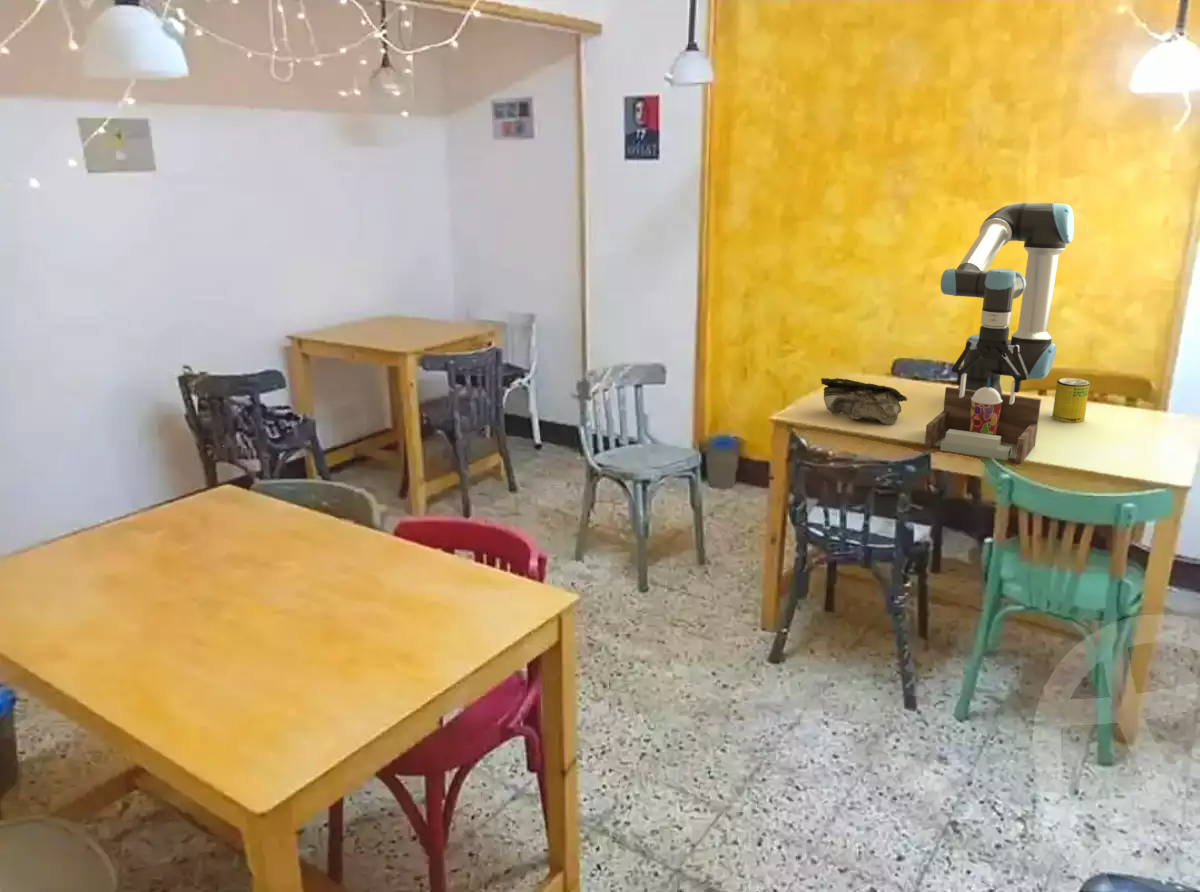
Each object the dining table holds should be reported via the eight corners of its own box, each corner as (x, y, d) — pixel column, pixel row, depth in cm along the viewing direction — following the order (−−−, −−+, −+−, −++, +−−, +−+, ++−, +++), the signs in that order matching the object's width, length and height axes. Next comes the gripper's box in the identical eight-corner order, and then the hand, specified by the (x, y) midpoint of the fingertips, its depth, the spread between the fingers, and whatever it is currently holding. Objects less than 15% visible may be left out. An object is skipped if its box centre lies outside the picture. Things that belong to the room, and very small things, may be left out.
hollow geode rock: (818, 423, 308) (802, 398, 298) (832, 392, 312) (817, 366, 302) (898, 437, 290) (885, 411, 280) (913, 403, 294) (900, 376, 284)
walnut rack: (942, 431, 282) (947, 386, 278) (1035, 445, 268) (1041, 398, 263) (924, 447, 268) (928, 401, 264) (1020, 463, 254) (1027, 414, 250)
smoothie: (992, 440, 273) (999, 374, 267) (1000, 449, 265) (1009, 381, 259) (962, 440, 274) (969, 374, 268) (970, 449, 266) (977, 381, 260)
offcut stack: (944, 446, 270) (946, 428, 268) (1010, 456, 261) (1012, 437, 259) (940, 450, 267) (942, 432, 265) (1007, 461, 257) (1009, 442, 255)
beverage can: (1088, 418, 292) (1093, 381, 288) (1078, 424, 286) (1084, 386, 282) (1057, 413, 298) (1062, 376, 294) (1048, 419, 292) (1053, 382, 288)
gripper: (945, 323, 263) (937, 396, 269) (1040, 332, 249) (1030, 409, 255) (952, 319, 268) (945, 391, 275) (1046, 328, 255) (1036, 403, 261)
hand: (986, 400), depth 265 cm, fingers open, 13 cm apart
